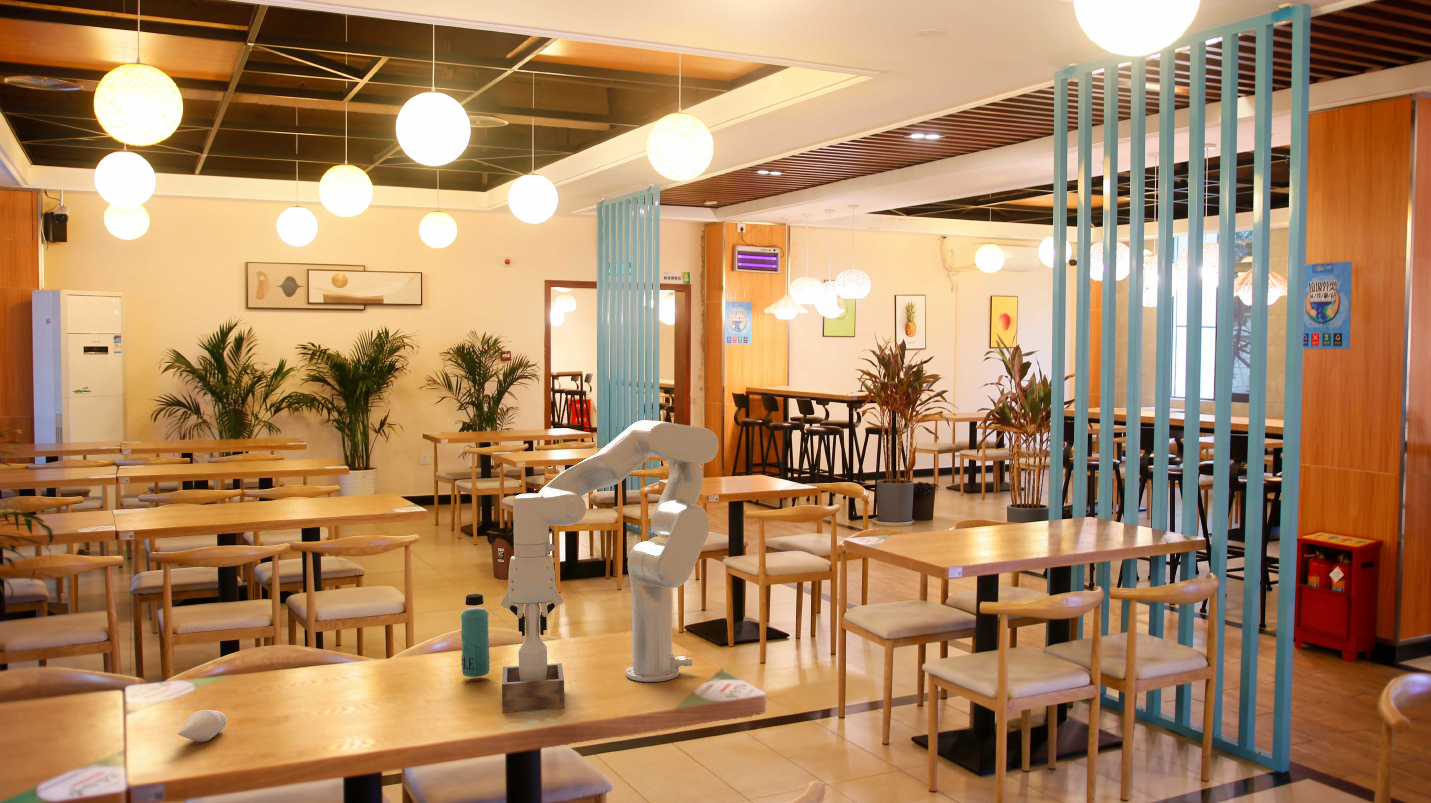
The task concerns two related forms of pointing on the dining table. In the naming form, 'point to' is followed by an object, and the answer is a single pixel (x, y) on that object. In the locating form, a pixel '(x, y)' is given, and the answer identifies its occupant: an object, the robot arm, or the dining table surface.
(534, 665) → the low poly bottle
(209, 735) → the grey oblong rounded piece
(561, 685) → the walnut box
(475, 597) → the beverage bottle
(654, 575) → the robot arm
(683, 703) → the dining table surface
